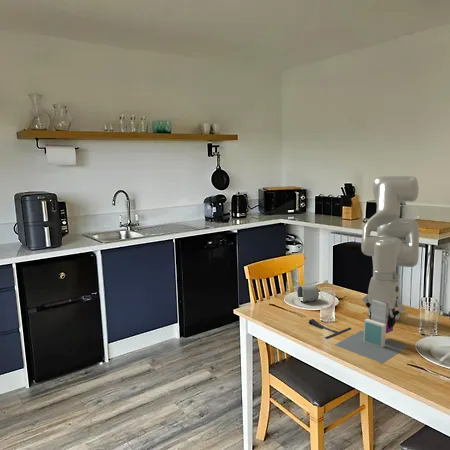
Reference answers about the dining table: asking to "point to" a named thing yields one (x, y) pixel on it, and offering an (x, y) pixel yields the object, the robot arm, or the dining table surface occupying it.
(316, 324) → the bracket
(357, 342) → the mat
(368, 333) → the tile
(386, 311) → the supplement box
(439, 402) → the dining table surface
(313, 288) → the ceramic mug
